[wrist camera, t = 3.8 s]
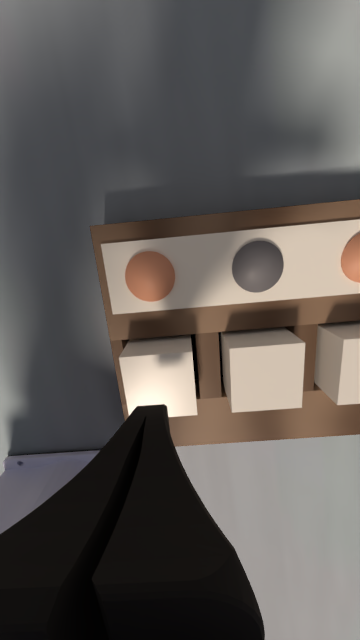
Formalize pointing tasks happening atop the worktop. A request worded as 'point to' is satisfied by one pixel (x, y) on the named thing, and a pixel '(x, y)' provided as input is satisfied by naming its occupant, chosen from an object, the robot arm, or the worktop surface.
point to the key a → (160, 374)
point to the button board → (206, 322)
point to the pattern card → (234, 267)
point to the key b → (263, 369)
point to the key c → (339, 361)
